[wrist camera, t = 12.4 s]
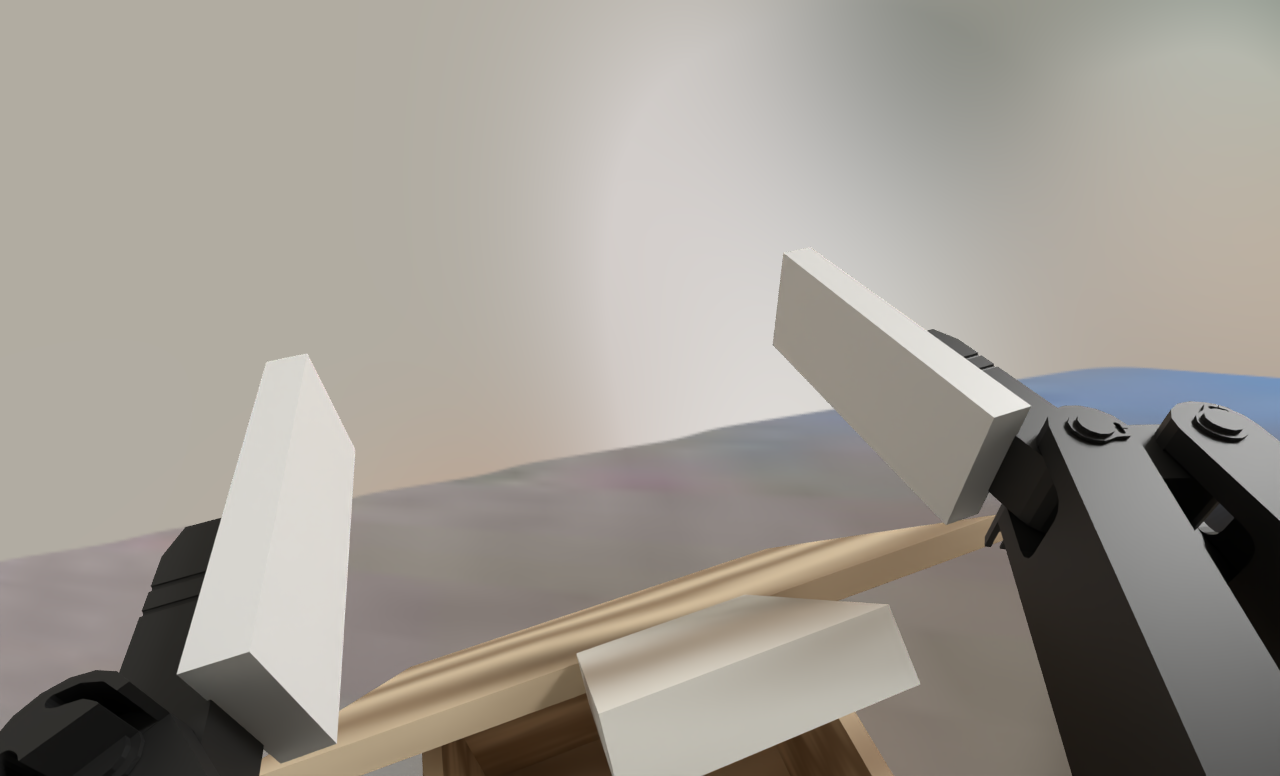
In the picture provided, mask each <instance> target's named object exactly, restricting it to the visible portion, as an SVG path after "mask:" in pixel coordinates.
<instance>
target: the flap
mask: <svg viewBox="0 0 1280 776" xmlns="http://www.w3.org/2000/svg"><path fill="white" fill-rule="evenodd" d="M995 516H996V515H992V516H985V517H979V518H972V519H965V520H959V521H956V522H954V523H951V524H948V525H945V524H944V523H938V524H931V525H925V526H918V527H911V528H904V529H898V530H891V531H884V532H877V533H870V534H864V535H857V536H850V537H843V538H837V539H830V540H823V541H816V542H810V543H803V544H796V545H789V546H783V547H776V548H769V549H765V550H762V551H759V552H756V553H753V554H750V555H747V556H744V557H741V558H738V559H735V560H732V561H729V562H726V563H723V564H720V565H717V566H714V567H711V568H708V569H705V570H702V571H699V572H696V573H693V574H690V575H687V576H684V577H681V578H678V579H675V580H672V581H668V582H665V583H662V584H659V585H656V586H653V587H650V588H647V589H644V590H641V591H638V592H635V593H632V594H629V595H626V596H623V597H620V598H617V599H614V600H611V601H608V602H605V603H602V604H599V605H596V606H593V607H590V608H587V609H584V610H581V611H578V612H575V613H572V614H569V615H566V616H563V617H560V618H557V619H554V620H551V621H548V622H545V623H542V624H539V625H536V626H533V627H530V628H527V629H524V630H521V631H518V632H515V633H512V634H509V635H506V636H503V637H500V638H497V639H494V640H491V641H488V642H485V643H482V644H479V645H476V646H473V647H470V648H467V649H464V650H461V651H458V652H455V653H452V654H449V655H446V656H443V657H440V658H437V659H434V660H431V661H428V662H425V663H422V664H418V665H415V666H412V667H410V668H408V669H407V670H405V671H403V672H402V673H400V674H398V675H397V676H395V677H394V678H392V679H390V680H389V681H387V682H386V683H384V684H382V685H381V686H379V687H377V688H376V689H374V690H373V691H371V692H369V693H368V694H366V695H365V696H363V697H361V698H360V699H358V700H356V701H355V702H353V703H352V704H350V705H348V706H347V707H345V708H344V709H342V710H340V711H339V717H338V733H337V744H335V745H332V746H329V747H326V748H324V749H321V750H318V751H315V752H312V753H310V754H307V755H304V756H301V757H298V758H296V759H293V760H290V761H287V762H284V763H282V764H280V763H279V762H278V761H277V760H276V759H275V758H273V757H272V756H271V755H270V754H269V755H268V756H266V757H264V758H263V759H262V761H261V768H260V774H259V776H361V775H363V774H366V773H369V772H372V771H374V770H377V769H380V768H382V767H385V766H388V765H391V764H393V763H396V762H399V761H402V760H404V759H407V758H410V757H412V756H415V755H418V754H421V753H423V752H426V751H429V750H432V749H434V748H437V747H440V746H443V745H445V744H448V743H451V742H453V741H456V740H459V739H462V738H464V737H467V736H470V735H473V734H475V733H478V732H481V731H483V730H486V729H489V728H492V727H494V726H497V725H500V724H503V723H505V722H508V721H511V720H514V719H516V718H519V717H522V716H524V715H527V714H530V713H533V712H535V711H538V710H541V709H544V708H546V707H549V706H552V705H554V704H557V703H560V702H563V701H565V700H568V699H571V698H574V697H576V696H579V695H582V694H585V693H586V694H587V698H588V702H589V705H590V708H591V712H592V715H593V718H594V721H595V724H596V727H597V730H598V733H599V737H600V740H601V743H602V746H603V749H604V752H605V755H606V758H607V761H608V765H609V768H610V771H611V774H612V776H703V775H705V774H708V773H710V772H712V771H715V770H717V769H719V768H722V767H724V766H727V765H729V764H731V763H734V762H736V761H739V760H741V759H743V758H746V757H748V756H750V755H753V754H755V753H758V752H760V751H762V750H765V749H767V748H770V747H772V746H774V745H777V744H779V743H781V742H784V741H786V740H789V739H791V738H793V737H796V736H798V735H800V734H803V733H805V732H808V731H810V730H812V729H815V728H817V727H820V726H822V725H824V724H827V723H829V722H831V721H834V720H836V719H839V718H841V717H843V716H846V715H848V714H851V713H853V712H855V711H858V710H860V709H862V708H865V707H867V706H870V705H872V704H874V703H877V702H879V701H882V700H884V699H886V698H889V697H891V696H893V695H896V694H898V693H901V692H903V691H905V690H908V689H910V688H912V687H915V686H917V685H920V682H919V679H918V677H917V674H916V672H915V669H914V667H913V664H912V662H911V659H910V657H909V654H908V652H907V649H906V647H905V644H904V642H903V639H902V637H901V634H900V632H899V629H898V626H897V624H896V621H895V619H894V616H893V614H892V611H891V609H890V606H889V605H887V604H873V603H859V602H844V601H839V600H841V599H844V598H847V597H849V596H852V595H855V594H858V593H860V592H863V591H866V590H869V589H871V588H874V587H877V586H879V585H882V584H885V583H888V582H890V581H893V580H896V579H899V578H901V577H904V576H907V575H910V574H912V573H915V572H918V571H920V570H923V569H926V568H929V567H931V566H934V565H937V564H940V563H942V562H945V561H948V560H950V559H953V558H956V557H959V556H961V555H964V554H967V553H970V552H972V551H975V550H978V549H981V548H983V547H986V546H985V535H986V533H987V531H988V529H989V528H990V526H991V524H992V522H993V520H994V518H995ZM1002 540H1003V538H1002V534H1001V532H999V533H998V535H997V537H996V539H995V540H994V542H993V544H994V543H997V542H1000V541H1002Z"/></svg>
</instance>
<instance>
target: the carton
mask: <svg viewBox="0 0 1280 776" xmlns="http://www.w3.org/2000/svg"><path fill="white" fill-rule="evenodd" d="M422 762H423V776H612V774H611V771H610V768H609V765H608V761H607V758H606V755H605V752H604V749H603V746H602V743H601V740H600V737H599V733H598V730H597V727H596V724H595V721H594V718H593V715H592V712H591V708H590V705H589V702H588V698H587V694H586V693H585V694H582V695H579V696H576V697H574V698H571V699H568V700H565V701H563V702H560V703H557V704H554V705H552V706H549V707H546V708H544V709H541V710H538V711H535V712H533V713H530V714H527V715H524V716H522V717H519V718H516V719H514V720H511V721H508V722H505V723H503V724H500V725H497V726H494V727H492V728H489V729H486V730H483V731H481V732H478V733H475V734H473V735H470V736H467V737H464V738H462V739H459V740H456V741H453V742H451V743H448V744H445V745H443V746H440V747H437V748H434V749H432V750H429V751H426V752H423V753H422ZM703 776H893V774H892V772H891V771H890V769H889V767H888V766H887V764H886V762H885V761H884V759H883V757H882V756H881V754H880V752H879V751H878V749H877V747H876V746H875V744H874V743H873V741H872V739H871V738H870V736H869V734H868V733H867V731H866V729H865V728H864V726H863V724H862V723H861V721H860V719H859V718H858V716H857V714H856V713H855V712H853V713H851V714H848V715H846V716H843V717H841V718H839V719H836V720H834V721H831V722H829V723H827V724H824V725H822V726H820V727H817V728H815V729H812V730H810V731H808V732H805V733H803V734H800V735H798V736H796V737H793V738H791V739H789V740H786V741H784V742H781V743H779V744H777V745H774V746H772V747H770V748H767V749H765V750H762V751H760V752H758V753H755V754H753V755H750V756H748V757H746V758H743V759H741V760H739V761H736V762H734V763H731V764H729V765H727V766H724V767H722V768H719V769H717V770H715V771H712V772H710V773H708V774H705V775H703Z"/></svg>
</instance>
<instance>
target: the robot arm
mask: <svg viewBox="0 0 1280 776" xmlns="http://www.w3.org/2000/svg"><path fill="white" fill-rule="evenodd" d="M780 279H781V280H780V287H779V297H778V305H777V314H776V322H775V330H774V339H773V346H774V347H775V348H776V349H777V350H778V351H779V352H780V353H781V354H782V355H783V356H784V357H785V358H786V359H787V360H788V361H789V362H790V363H791V364H792V365H793V366H794V367H795V368H796V370H798V372H800V374H801V375H802V376H803V377H804V378H805V379H806V380H807V381H808V382H809V383H810V384H811V385H812V386H813V387H814V388H815V389H816V390H817V391H818V392H819V393H820V394H821V395H822V396H823V398H824V399H825V400H826V401H827V402H828V403H829V404H830V405H831V406H832V407H833V408H834V409H835V410H836V411H837V412H838V413H839V414H840V415H841V416H842V417H843V418H844V420H845V421H846V422H847V423H848V424H849V425H850V426H851V427H852V428H853V429H854V430H855V431H856V432H857V433H858V434H859V435H860V436H861V437H862V438H863V439H864V440H865V441H866V442H867V443H868V445H869V446H870V447H871V448H872V449H873V450H874V451H875V452H876V453H877V454H878V455H879V456H880V457H881V458H882V459H883V460H884V461H885V462H886V463H887V464H888V465H889V466H890V467H891V468H892V470H893V471H894V472H895V473H896V474H897V475H898V476H899V477H900V478H901V479H902V480H903V481H904V482H905V483H906V484H907V485H908V486H909V487H910V488H911V489H912V490H913V491H914V492H915V493H916V495H917V496H918V497H919V498H920V499H921V500H922V501H923V502H924V503H925V504H926V505H927V506H928V507H929V508H930V509H931V510H932V511H933V512H934V513H935V514H936V515H937V516H938V517H939V518H940V520H941V521H942V522H943V523H944V524H945V525H948V524H951V523H954V522H956V521H959V520H962V519H965V518H968V517H970V516H973V515H976V514H978V513H979V511H980V509H981V507H982V505H983V503H984V501H985V499H986V497H987V495H988V493H989V492H990V493H991V494H992V495H993V496H994V497H995V498H996V499H998V500H999V501H1000V502H1001V503H1002V505H1001V507H1000V508H999V510H998V512H997V514H996V516H995V518H994V520H993V522H992V524H991V526H990V528H989V529H988V531H987V533H986V535H985V546H987V547H991V546H992V544H993V542H994V540H995V539H996V537H997V535H998V533H999V532H1001V534H1002V538H1003V541H1002V543H1001V545H1000V549H1006V551H1007V555H1008V558H1009V561H1010V565H1011V568H1012V572H1013V575H1014V578H1015V582H1016V585H1017V589H1018V592H1019V595H1020V599H1021V602H1022V606H1023V609H1024V613H1025V616H1026V619H1027V623H1028V626H1029V630H1030V633H1031V636H1032V640H1033V643H1034V647H1035V650H1036V653H1037V657H1038V660H1039V664H1040V667H1041V670H1042V674H1043V677H1044V681H1045V684H1046V687H1047V691H1048V694H1049V698H1050V701H1051V704H1052V708H1053V711H1054V715H1055V718H1056V722H1057V725H1058V728H1059V732H1060V735H1061V739H1062V742H1063V745H1064V749H1065V752H1066V756H1067V759H1068V762H1069V766H1070V769H1071V773H1072V776H1280V441H1278V440H1277V439H1276V438H1275V437H1273V436H1272V435H1271V434H1270V433H1268V432H1267V431H1266V430H1265V429H1263V428H1262V427H1261V426H1260V425H1258V424H1257V423H1255V422H1254V421H1252V420H1250V419H1249V418H1247V417H1246V416H1244V415H1242V414H1240V413H1237V412H1235V411H1233V410H1231V409H1229V408H1227V407H1223V406H1220V405H1216V404H1211V403H1204V402H1191V401H1189V402H1184V403H1179V404H1177V405H1176V406H1174V407H1173V408H1172V409H1171V410H1170V412H1169V413H1168V415H1167V416H1166V418H1165V419H1164V420H1163V422H1162V423H1161V424H1157V425H1126V424H1125V423H1123V422H1122V421H1120V420H1119V419H1117V418H1115V417H1114V416H1112V415H1110V414H1107V413H1105V412H1102V411H1100V410H1097V409H1093V408H1088V407H1083V406H1062V407H1059V408H1057V407H1055V406H1054V405H1052V404H1051V403H1049V402H1048V401H1046V400H1045V399H1044V398H1042V397H1041V396H1039V395H1038V394H1036V393H1035V392H1033V391H1032V390H1031V389H1029V388H1028V387H1026V386H1025V385H1023V384H1022V383H1021V382H1019V381H1018V380H1016V379H1015V378H1013V377H1012V376H1010V375H1009V374H1008V373H1006V372H1005V371H1003V370H1002V369H1000V368H999V367H994V364H993V363H992V362H990V361H989V360H987V359H986V358H984V357H983V356H978V353H977V352H976V351H974V350H973V349H972V348H970V347H969V346H967V345H966V344H964V343H963V342H961V341H960V340H958V339H956V338H954V337H951V336H949V335H946V334H944V333H941V332H939V331H936V330H934V329H932V330H928V331H926V330H925V329H923V328H922V327H921V326H919V325H918V324H917V323H915V322H914V321H912V320H911V319H910V318H908V317H907V316H905V315H904V314H902V313H901V312H900V311H899V310H897V309H896V308H894V307H893V306H892V305H890V304H889V303H887V302H886V301H885V300H883V299H882V298H880V297H879V296H877V295H876V294H875V293H873V292H872V291H870V290H869V289H868V288H867V287H865V286H864V285H862V284H861V283H859V282H858V281H857V280H855V279H854V278H852V277H851V276H850V275H848V274H847V273H846V272H844V271H843V270H841V269H840V268H839V267H837V266H836V265H834V264H833V263H832V262H830V261H829V260H828V259H826V258H825V257H823V256H822V255H821V254H819V253H818V252H816V251H815V250H814V249H812V248H811V247H809V248H805V249H800V250H795V251H790V252H786V253H783V261H782V270H781V278H780ZM354 461H355V448H354V446H353V444H352V442H351V440H350V438H349V436H348V434H347V432H346V430H345V428H344V426H343V424H342V422H341V420H340V418H339V416H338V414H337V412H336V410H335V408H334V406H333V404H332V402H331V400H330V398H329V396H328V394H327V392H326V390H325V388H324V386H323V384H322V382H321V380H320V378H319V376H318V374H317V372H316V370H315V368H314V366H313V364H312V362H311V360H310V358H309V356H308V354H302V355H297V356H292V357H287V358H283V359H278V360H273V361H268V362H266V365H265V369H264V372H263V375H262V380H261V382H260V386H259V389H258V393H257V397H256V400H255V403H254V407H253V410H252V414H251V417H250V421H249V424H248V428H247V431H246V435H245V438H244V441H243V445H242V449H241V452H240V455H239V459H238V462H237V466H236V469H235V473H234V476H233V480H232V483H231V487H230V490H229V494H228V497H227V501H226V504H225V508H224V511H223V515H222V518H219V519H215V520H211V521H207V522H204V523H200V524H196V525H192V526H188V527H185V529H184V530H183V531H182V532H181V533H180V535H179V536H178V537H177V538H176V540H175V541H174V542H173V543H172V545H171V546H170V547H169V548H168V550H167V551H166V552H165V553H164V554H163V556H162V557H161V560H160V563H159V566H158V568H157V571H156V574H155V576H154V579H153V582H152V585H151V587H152V591H151V592H149V593H148V596H147V598H146V601H145V604H144V607H143V609H142V612H143V616H142V617H139V620H138V623H137V626H136V628H135V631H134V634H133V637H132V639H131V642H130V645H129V647H128V650H127V653H126V656H125V658H124V661H123V664H122V667H121V669H120V672H119V673H118V672H117V671H101V670H95V671H92V672H88V673H85V674H81V675H78V676H75V677H71V678H69V679H67V680H65V681H63V682H61V683H60V684H58V685H56V686H54V687H52V688H50V689H49V690H47V691H45V692H43V693H41V694H40V695H39V696H38V697H36V698H35V699H34V700H33V701H31V702H30V703H29V704H28V705H26V706H25V707H24V708H23V709H21V710H20V711H19V712H18V713H16V714H15V715H14V716H13V717H12V718H11V719H10V721H9V722H8V723H7V724H6V725H5V726H4V727H3V729H2V730H1V731H0V776H259V774H260V768H261V761H262V755H263V749H264V750H265V751H266V752H268V753H269V754H270V755H271V756H272V757H273V758H275V759H276V760H277V761H278V762H279V763H280V764H282V763H284V762H287V761H290V760H293V759H296V758H298V757H301V756H304V755H307V754H310V753H312V752H315V751H318V750H321V749H324V748H326V747H329V746H332V745H335V744H337V733H338V717H339V701H340V685H341V669H342V653H343V637H344V621H345V605H346V589H347V573H348V557H349V541H350V525H351V509H352V492H353V477H354V476H353V475H354Z"/></svg>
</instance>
